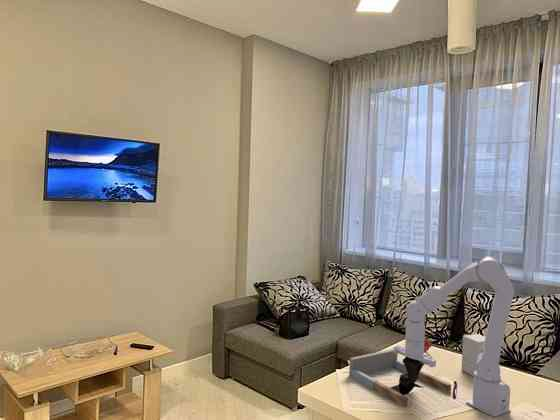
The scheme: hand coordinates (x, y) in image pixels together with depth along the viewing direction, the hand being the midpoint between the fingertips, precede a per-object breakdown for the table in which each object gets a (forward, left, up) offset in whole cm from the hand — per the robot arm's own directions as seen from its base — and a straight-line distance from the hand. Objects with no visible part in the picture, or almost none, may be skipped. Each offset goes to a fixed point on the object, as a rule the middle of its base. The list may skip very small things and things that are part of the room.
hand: (412, 381), depth 140 cm
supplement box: (0, -32, -3) cm, 32 cm away
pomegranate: (+20, -27, -3) cm, 34 cm away
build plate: (+2, 0, -4) cm, 4 cm away
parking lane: (+5, 0, -3) cm, 6 cm away
